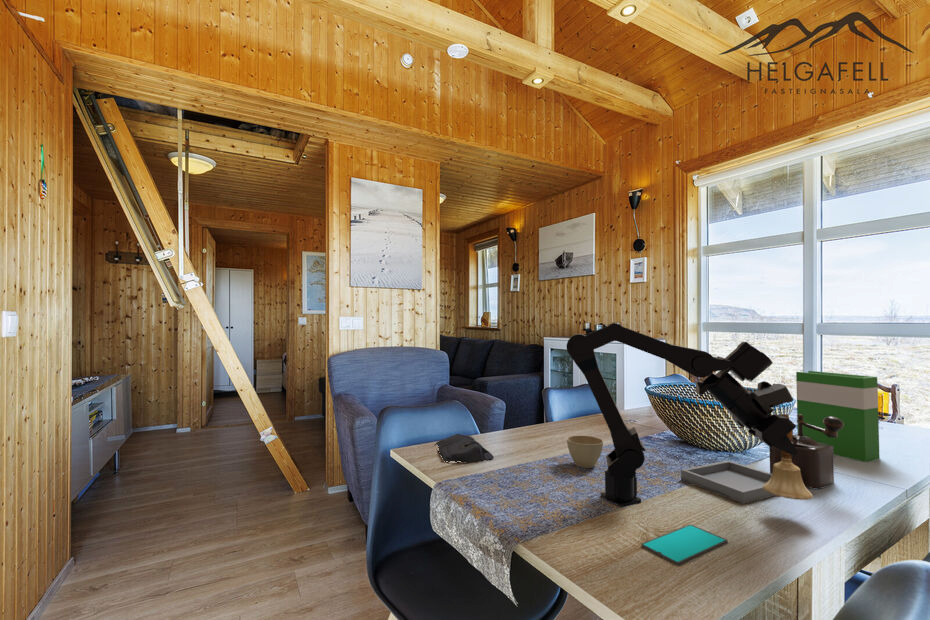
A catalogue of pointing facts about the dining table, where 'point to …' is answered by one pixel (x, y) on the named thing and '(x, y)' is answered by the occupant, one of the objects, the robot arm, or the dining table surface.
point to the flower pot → (585, 450)
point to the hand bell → (787, 478)
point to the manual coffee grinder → (812, 454)
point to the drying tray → (729, 480)
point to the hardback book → (841, 411)
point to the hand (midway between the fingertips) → (793, 452)
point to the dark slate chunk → (462, 449)
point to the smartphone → (684, 544)
